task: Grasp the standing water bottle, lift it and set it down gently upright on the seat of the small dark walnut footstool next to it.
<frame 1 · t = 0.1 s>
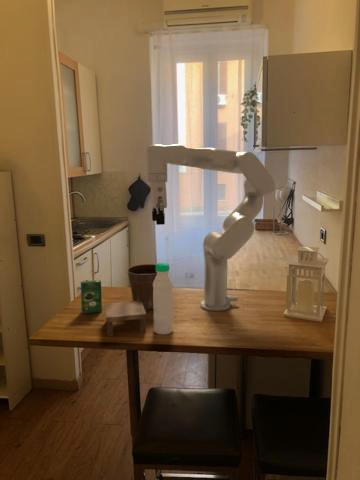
hand: (158, 222, 149), 37 cm above the breakfast bar, tool pointing down, fingers open, 9 cm apart
plant pot: (147, 305, 163), on the breakfast bar
water bottle: (163, 331, 138), on the breakfast bar
coffee box: (92, 312, 156), on the breakfast bar
footstool: (125, 326, 142), on the breakfast bar
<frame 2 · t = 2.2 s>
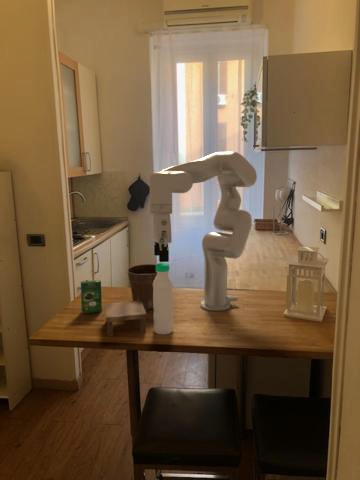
hand: (161, 258, 132), 27 cm above the breakfast bar, tool pointing down, fingers open, 9 cm apart
nothing on the breakfast bar moved.
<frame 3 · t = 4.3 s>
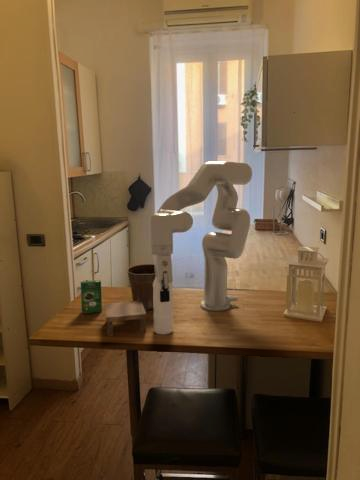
hand: (162, 297, 135), 13 cm above the breakfast bar, tool pointing down, fingers closed on water bottle, 6 cm apart
water bottle: (163, 331, 138), on the breakfast bar, touching gripper
everything else where it was.
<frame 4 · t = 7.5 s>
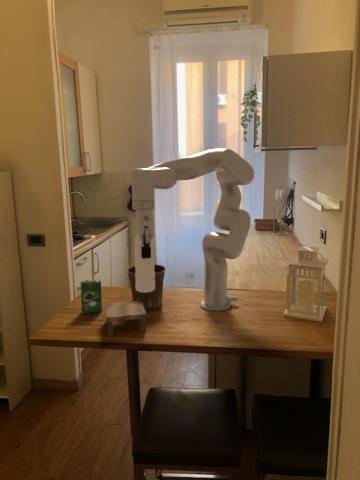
hand: (144, 255, 134), 28 cm above the breakfast bar, tool pointing down, fingers closed on water bottle, 6 cm apart
water bottle: (145, 290, 136), point 15 cm above the breakfast bar, touching gripper
everything else where it was.
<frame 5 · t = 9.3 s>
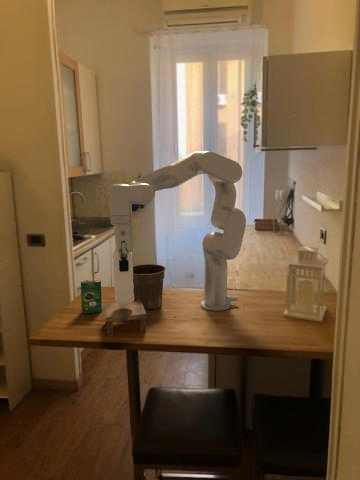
hand: (123, 268, 138), 22 cm above the breakfast bar, tool pointing down, fingers closed on water bottle, 6 cm apart
water bottle: (124, 302, 140), point 10 cm above the breakfast bar, touching gripper
everything else where it was.
when the fingers open (21 cm above the breakfast bar, at t = 10.5 s): water bottle drops 2 cm, resting on footstool.
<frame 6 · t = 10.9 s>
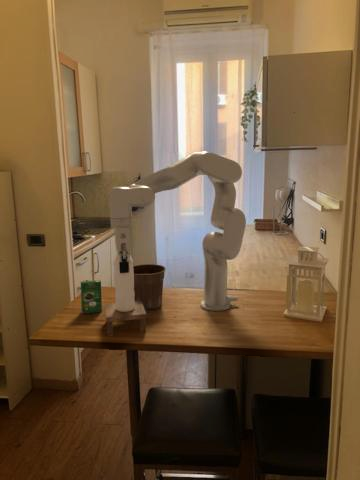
hand: (123, 269, 138), 22 cm above the breakfast bar, tool pointing down, fingers open, 9 cm apart
water bottle: (125, 309, 140), point 7 cm above the breakfast bar, touching footstool
everything else where it was.
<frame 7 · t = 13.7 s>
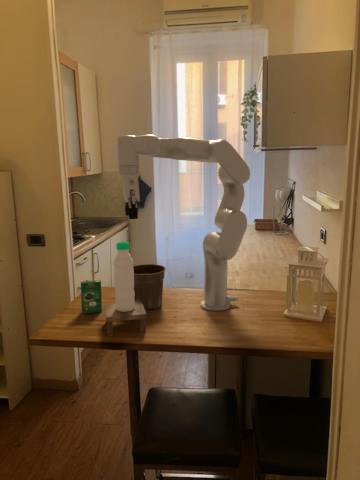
hand: (131, 217, 142), 40 cm above the breakfast bar, tool pointing down, fingers open, 9 cm apart
nothing on the breakfast bar moved.
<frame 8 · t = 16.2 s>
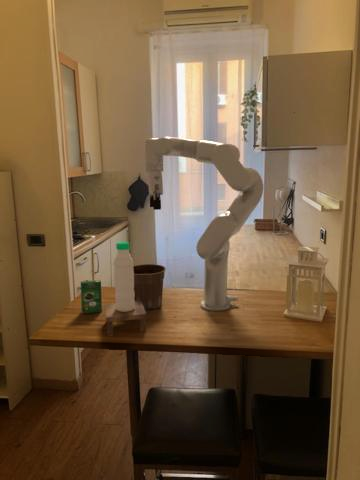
hand: (155, 208, 166), 40 cm above the breakfast bar, tool pointing down, fingers open, 9 cm apart
nothing on the breakfast bar moved.
at the end: water bottle inside the target area on the footstool (0.5 cm from its centre), point 6.8 cm above the footstool's base; water bottle tilted 0°; the gripper is holding nothing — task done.
